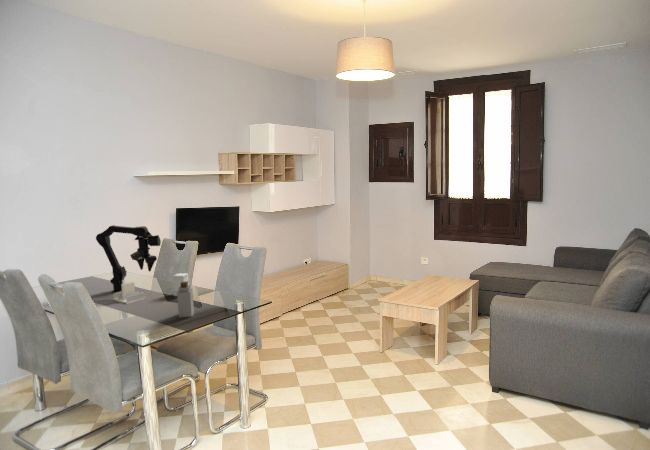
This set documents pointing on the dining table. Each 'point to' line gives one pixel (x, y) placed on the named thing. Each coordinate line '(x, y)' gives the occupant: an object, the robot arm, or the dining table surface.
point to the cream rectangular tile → (128, 288)
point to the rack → (128, 297)
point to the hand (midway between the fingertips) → (145, 270)
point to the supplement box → (179, 281)
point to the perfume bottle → (185, 300)
